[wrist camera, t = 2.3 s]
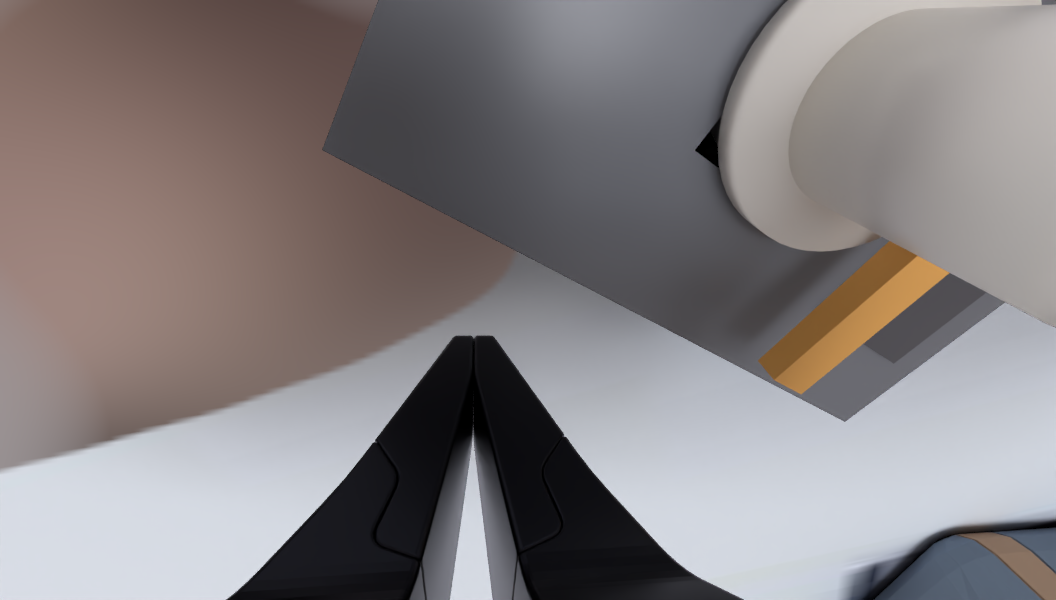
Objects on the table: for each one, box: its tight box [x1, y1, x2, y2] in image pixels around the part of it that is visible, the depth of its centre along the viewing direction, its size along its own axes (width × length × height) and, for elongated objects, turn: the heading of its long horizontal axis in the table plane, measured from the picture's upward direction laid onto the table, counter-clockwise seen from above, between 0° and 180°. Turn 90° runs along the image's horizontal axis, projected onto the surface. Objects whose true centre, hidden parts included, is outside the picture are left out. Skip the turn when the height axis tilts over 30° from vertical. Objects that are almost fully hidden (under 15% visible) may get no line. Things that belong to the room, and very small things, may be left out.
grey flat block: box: [323, 0, 1056, 422], centre depth 11 cm, size 20×15×4 cm
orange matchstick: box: [758, 241, 949, 394], centre depth 9 cm, size 14×2×1 cm, turn 148°
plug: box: [710, 0, 1056, 327], centre depth 9 cm, size 6×6×9 cm
